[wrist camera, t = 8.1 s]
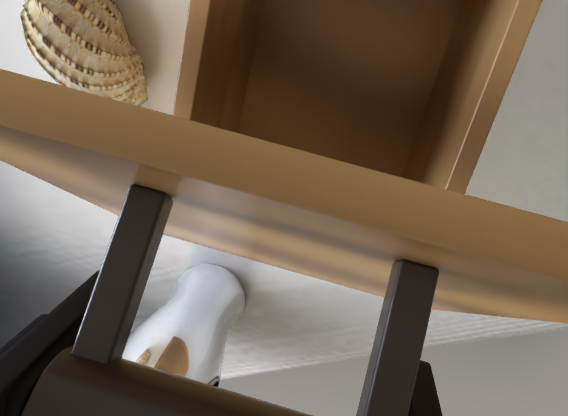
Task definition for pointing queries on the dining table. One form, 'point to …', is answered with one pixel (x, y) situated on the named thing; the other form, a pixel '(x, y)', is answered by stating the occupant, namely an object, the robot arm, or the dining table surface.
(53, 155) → the lid
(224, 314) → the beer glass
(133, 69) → the seashell
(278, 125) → the chest
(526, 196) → the dining table surface
